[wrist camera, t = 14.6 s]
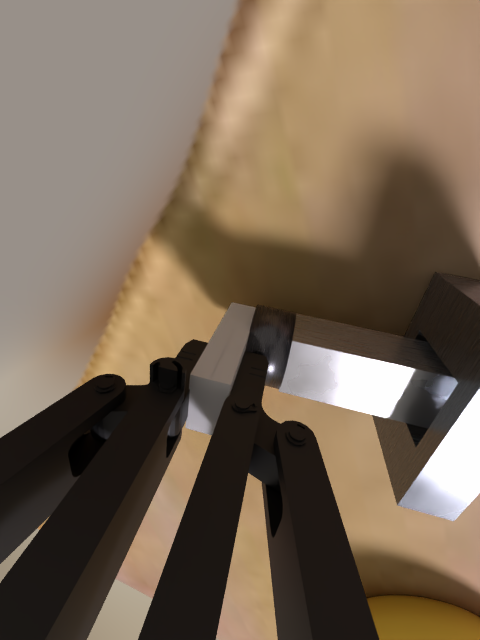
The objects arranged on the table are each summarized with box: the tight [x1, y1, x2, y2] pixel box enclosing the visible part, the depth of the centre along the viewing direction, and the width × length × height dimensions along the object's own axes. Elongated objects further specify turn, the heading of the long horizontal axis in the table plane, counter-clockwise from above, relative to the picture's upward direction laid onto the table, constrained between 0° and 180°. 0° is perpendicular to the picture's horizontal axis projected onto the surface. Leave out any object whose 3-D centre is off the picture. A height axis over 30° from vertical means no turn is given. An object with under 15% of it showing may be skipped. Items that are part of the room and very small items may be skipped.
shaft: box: [245, 305, 458, 428], centre depth 15 cm, size 12×4×4 cm, turn 81°
